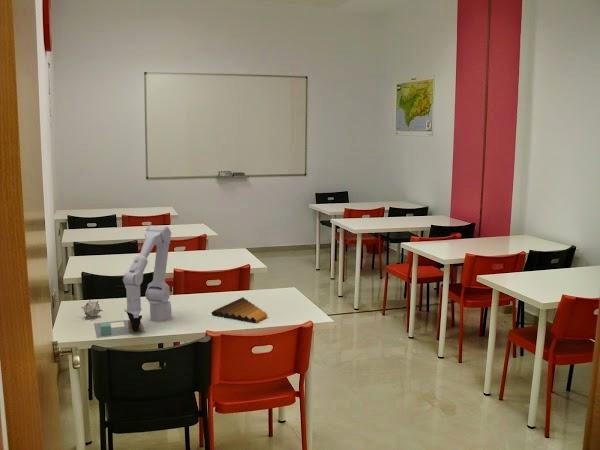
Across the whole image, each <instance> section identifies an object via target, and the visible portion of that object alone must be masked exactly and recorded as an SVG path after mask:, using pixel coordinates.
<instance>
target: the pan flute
mask: <svg viewBox="0 0 600 450" xmlns="http://www.w3.org/2000/svg"><path fill="white" fill-rule="evenodd" d="M211 316H213V317H219V318H225V319H228V320H229V319H230V320H235V321H236V320H237V321H240V322H246V323H251V324H257V323H259V322H260V321H262V320H265V319H266V318H268V317H267V316H268V314H267V312H266V311H264V310H262V308H259V306H257V305H255V304H254V303H252V302H251V301H249V300H248V299H246V298H245V297H240V298H238V299H235V300H234V301H231V302H230V303H227V304H224V305H223V306H220V307H218V308H217V309H214V310H212V311H211Z"/></svg>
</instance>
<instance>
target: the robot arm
mask: <svg viewBox="0 0 600 450" xmlns="http://www.w3.org/2000/svg"><path fill="white" fill-rule="evenodd" d="M170 229H171V228H169V227H168V226H161V225H160V226H159V225H152V224H149V225H148V226H147V227H146V229H145V232H144V236H145V240H144V242H143V244H142V247H141V250H140V252H139V255H137V256H135V257H134V259H133V262H132V264H131V265H130V268H129V270H128V271H126V272H125V273H124V275H123V278H122V282H123V284H124V288H125V290H126V308H124V312H125V313H126V314H127V317H128V320H130V321H131V324H132V329H133V332H135V331H138V330H139V324H140V321H141V320H142V319H143V315H140V313H141V311H142V304H141V303H142V302H141V301H142V300H141V285H142V283H143V282H144V281H143V280H144V272H145V269H146V267H147V266H148V263H149V261H148V257H149V255H150V253H151V252H152V251H153V248H154V247H155V246H156V252H155V258H154V259H155V260H154V267H153V268H154V270H153V275H152V277H153V278H152V281H151V282H149V283H148V284H147V288H146V291H145V298H146V300H147V301H148V303H149V313H150V314H149V316H150V318H149V319H150V321H151V322H155V323H159V322H165V321H172V320H173V319H172V305H171V301H170V300H169V299H170V297H171V295H170V294H171V293H170V286H169V284H167V283H166V274H167V265H168V264H167V263H168V257H169V249H170V244H171V239H172V238H171V237H172V231H171V230H170ZM141 322H142V321H141Z"/></svg>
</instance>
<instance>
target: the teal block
mask: <svg viewBox="0 0 600 450" xmlns="http://www.w3.org/2000/svg"><path fill="white" fill-rule="evenodd" d="M100 327H101V336H105V335H111V324H110V323H105V324H100Z"/></svg>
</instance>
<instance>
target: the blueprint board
mask: <svg viewBox="0 0 600 450" xmlns="http://www.w3.org/2000/svg"><path fill="white" fill-rule="evenodd" d="M129 320H130V319H123V320H114V321H112V320H111V321H105V322H104V321H103V322H95V323H93V326H94V331H95V335H96V339H102V338H109V337H110V338H111V337H117V336H118V337H119V336H126V335H134V334H135V335H136V334H144V333H146V330H145V328H144V325H143V323H142V322H141V330H142V332H134V333H129V330H128V321H129ZM105 323H110V324H111V335H105V336H101V327H100V324H105Z"/></svg>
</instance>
